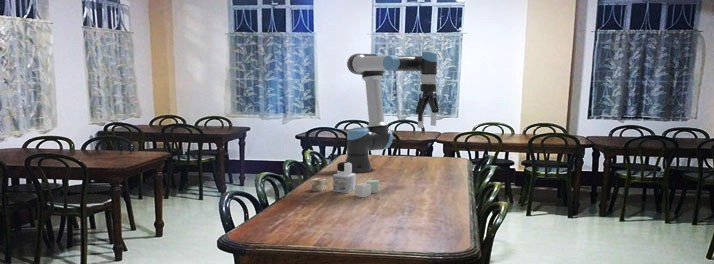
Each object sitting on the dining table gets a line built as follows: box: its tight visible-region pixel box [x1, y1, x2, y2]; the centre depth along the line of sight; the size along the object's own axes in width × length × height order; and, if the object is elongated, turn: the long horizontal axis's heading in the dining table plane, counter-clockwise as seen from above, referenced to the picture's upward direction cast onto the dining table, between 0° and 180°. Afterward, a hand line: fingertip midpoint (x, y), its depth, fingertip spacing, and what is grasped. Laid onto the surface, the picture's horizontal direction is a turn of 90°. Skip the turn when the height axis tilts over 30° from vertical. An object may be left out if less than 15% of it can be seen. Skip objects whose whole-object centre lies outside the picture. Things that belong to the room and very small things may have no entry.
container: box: [332, 161, 357, 194], centre depth 237 cm, size 8×8×13 cm
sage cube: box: [366, 179, 380, 194], centre depth 236 cm, size 5×5×5 cm
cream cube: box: [354, 182, 372, 198], centre depth 229 cm, size 5×5×5 cm
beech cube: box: [311, 177, 327, 192], centre depth 239 cm, size 5×5×5 cm
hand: (427, 126), depth 259 cm, fingers open, 13 cm apart
